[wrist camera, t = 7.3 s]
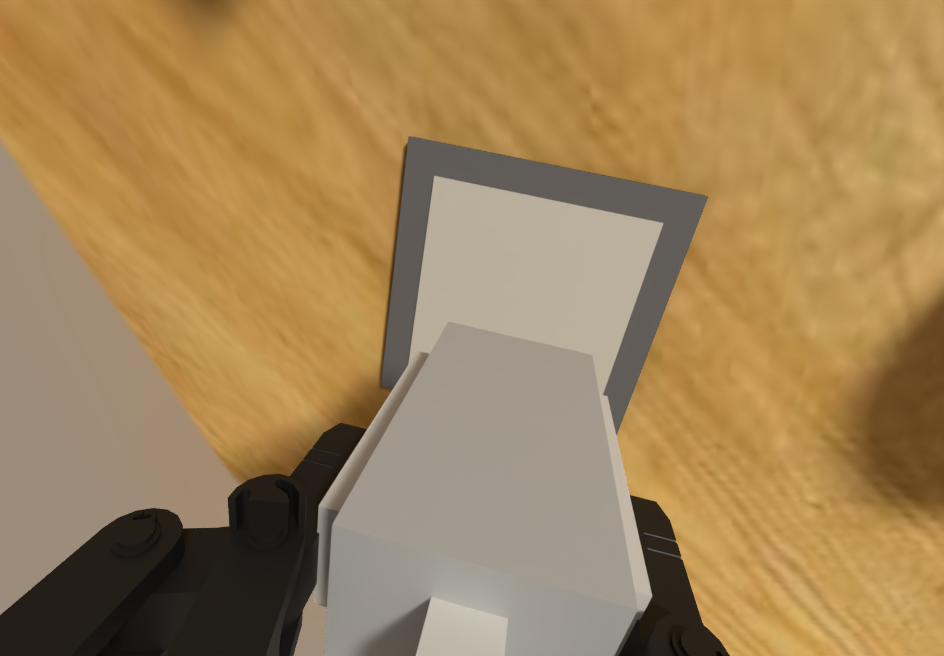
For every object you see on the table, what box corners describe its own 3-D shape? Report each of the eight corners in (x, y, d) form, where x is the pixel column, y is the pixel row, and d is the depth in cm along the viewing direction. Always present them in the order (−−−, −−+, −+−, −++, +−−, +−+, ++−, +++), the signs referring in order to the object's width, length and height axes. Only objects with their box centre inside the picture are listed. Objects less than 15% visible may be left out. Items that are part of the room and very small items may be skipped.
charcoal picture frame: (412, 136, 22) (407, 136, 21) (704, 195, 20) (708, 197, 20) (384, 381, 27) (380, 387, 27) (611, 437, 26) (613, 444, 26)
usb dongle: (448, 321, 14) (258, 653, 5) (592, 354, 13) (668, 778, 5) (428, 436, 16) (266, 828, 7) (554, 468, 15) (557, 927, 6)
